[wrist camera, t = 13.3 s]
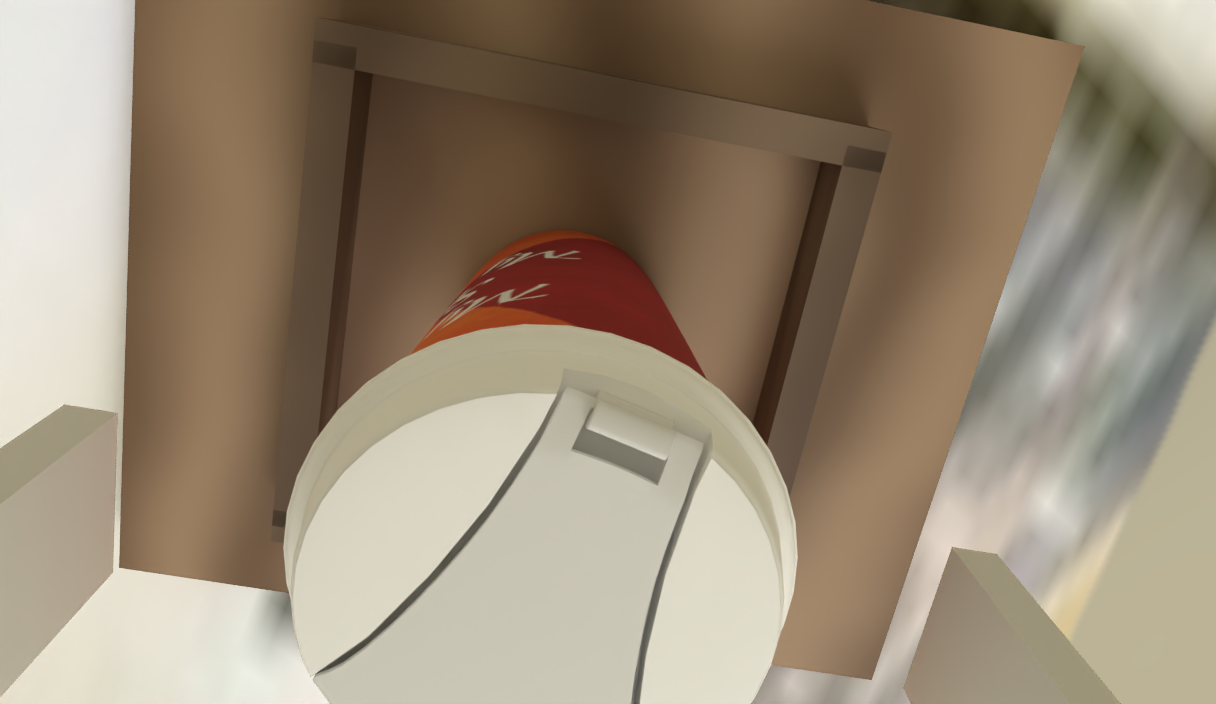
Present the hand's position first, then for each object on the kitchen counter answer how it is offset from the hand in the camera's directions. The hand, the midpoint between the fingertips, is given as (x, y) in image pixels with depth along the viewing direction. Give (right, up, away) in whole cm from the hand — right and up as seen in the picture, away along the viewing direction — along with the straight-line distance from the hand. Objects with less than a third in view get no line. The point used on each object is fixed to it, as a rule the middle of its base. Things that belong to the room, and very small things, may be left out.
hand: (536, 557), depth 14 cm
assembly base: (0, +4, +13) cm, 14 cm away
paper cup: (0, +4, +12) cm, 12 cm away
